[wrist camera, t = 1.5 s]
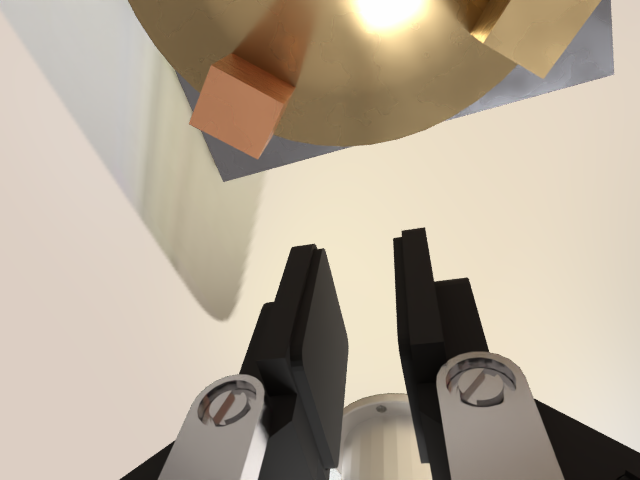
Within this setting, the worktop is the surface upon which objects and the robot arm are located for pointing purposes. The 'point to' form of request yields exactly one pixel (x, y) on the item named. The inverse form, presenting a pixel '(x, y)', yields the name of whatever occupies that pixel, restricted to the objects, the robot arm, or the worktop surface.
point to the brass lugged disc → (349, 61)
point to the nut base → (570, 69)
